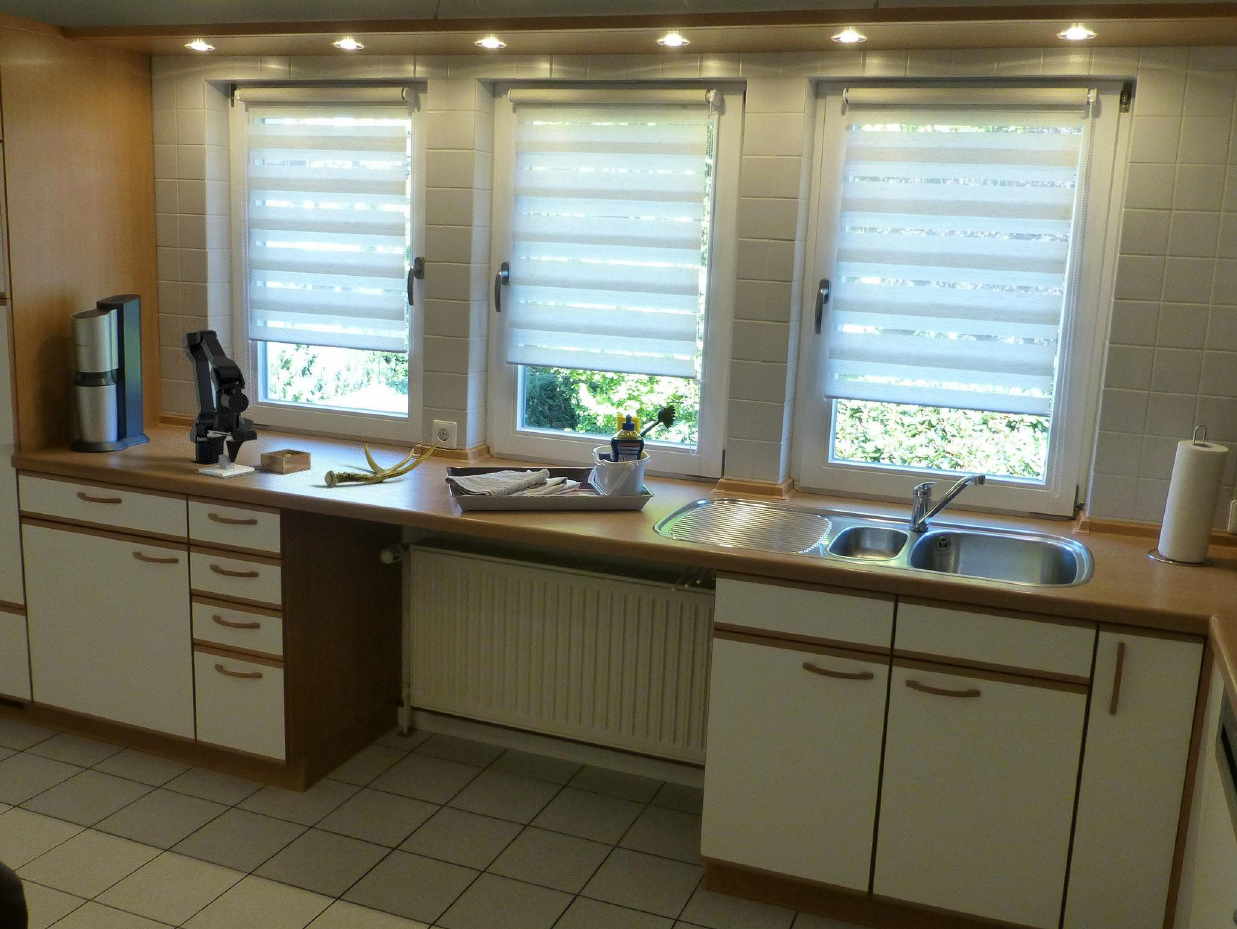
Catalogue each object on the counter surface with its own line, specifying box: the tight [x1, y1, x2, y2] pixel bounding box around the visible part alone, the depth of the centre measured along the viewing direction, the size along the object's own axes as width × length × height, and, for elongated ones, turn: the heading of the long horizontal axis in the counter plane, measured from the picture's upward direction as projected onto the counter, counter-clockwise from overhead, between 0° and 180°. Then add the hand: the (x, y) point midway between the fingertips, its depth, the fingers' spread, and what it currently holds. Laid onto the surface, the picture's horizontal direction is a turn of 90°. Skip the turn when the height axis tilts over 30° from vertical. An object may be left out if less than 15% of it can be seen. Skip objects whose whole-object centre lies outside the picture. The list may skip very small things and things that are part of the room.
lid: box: [198, 453, 255, 476], centre depth 314 cm, size 10×12×5 cm
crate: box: [260, 448, 312, 476], centre depth 322 cm, size 9×11×5 cm
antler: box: [324, 440, 441, 488], centre depth 314 cm, size 27×32×10 cm
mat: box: [194, 469, 260, 479], centre depth 314 cm, size 12×13×1 cm
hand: (226, 461), depth 314 cm, fingers open, 4 cm apart
